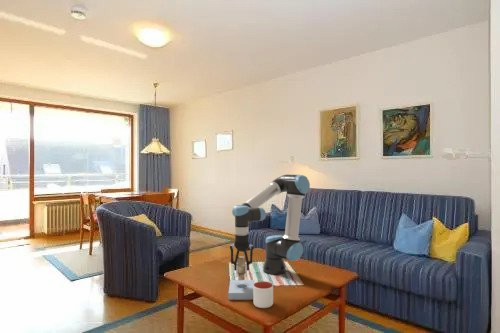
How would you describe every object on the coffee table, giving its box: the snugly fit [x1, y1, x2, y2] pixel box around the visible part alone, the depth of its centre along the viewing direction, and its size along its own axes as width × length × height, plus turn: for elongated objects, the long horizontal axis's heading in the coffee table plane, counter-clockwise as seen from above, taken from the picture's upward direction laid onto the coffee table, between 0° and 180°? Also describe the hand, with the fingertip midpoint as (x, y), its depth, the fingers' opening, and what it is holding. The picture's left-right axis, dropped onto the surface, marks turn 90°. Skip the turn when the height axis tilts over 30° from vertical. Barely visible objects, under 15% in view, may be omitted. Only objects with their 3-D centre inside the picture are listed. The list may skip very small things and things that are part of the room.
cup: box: [252, 280, 274, 309], centre depth 157 cm, size 10×10×10 cm
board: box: [227, 279, 255, 301], centre depth 172 cm, size 14×18×4 cm
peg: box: [237, 255, 246, 280], centre depth 171 cm, size 4×4×12 cm
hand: (241, 276), depth 171 cm, fingers closed on peg, 4 cm apart
